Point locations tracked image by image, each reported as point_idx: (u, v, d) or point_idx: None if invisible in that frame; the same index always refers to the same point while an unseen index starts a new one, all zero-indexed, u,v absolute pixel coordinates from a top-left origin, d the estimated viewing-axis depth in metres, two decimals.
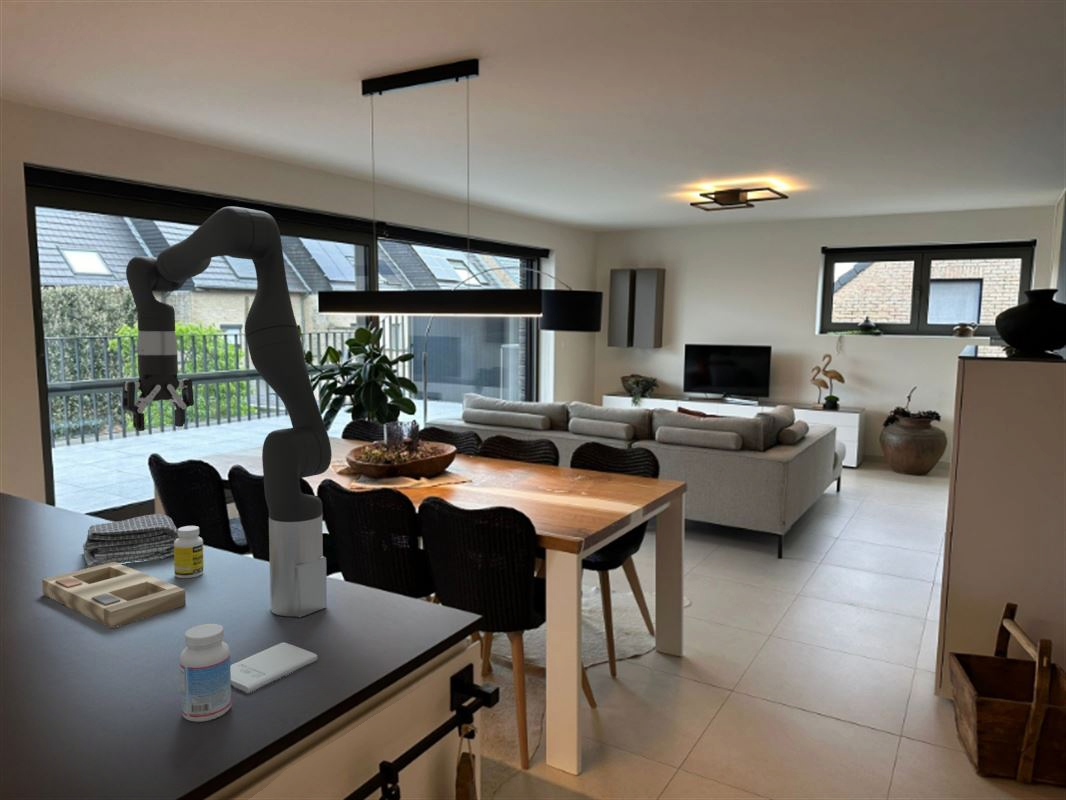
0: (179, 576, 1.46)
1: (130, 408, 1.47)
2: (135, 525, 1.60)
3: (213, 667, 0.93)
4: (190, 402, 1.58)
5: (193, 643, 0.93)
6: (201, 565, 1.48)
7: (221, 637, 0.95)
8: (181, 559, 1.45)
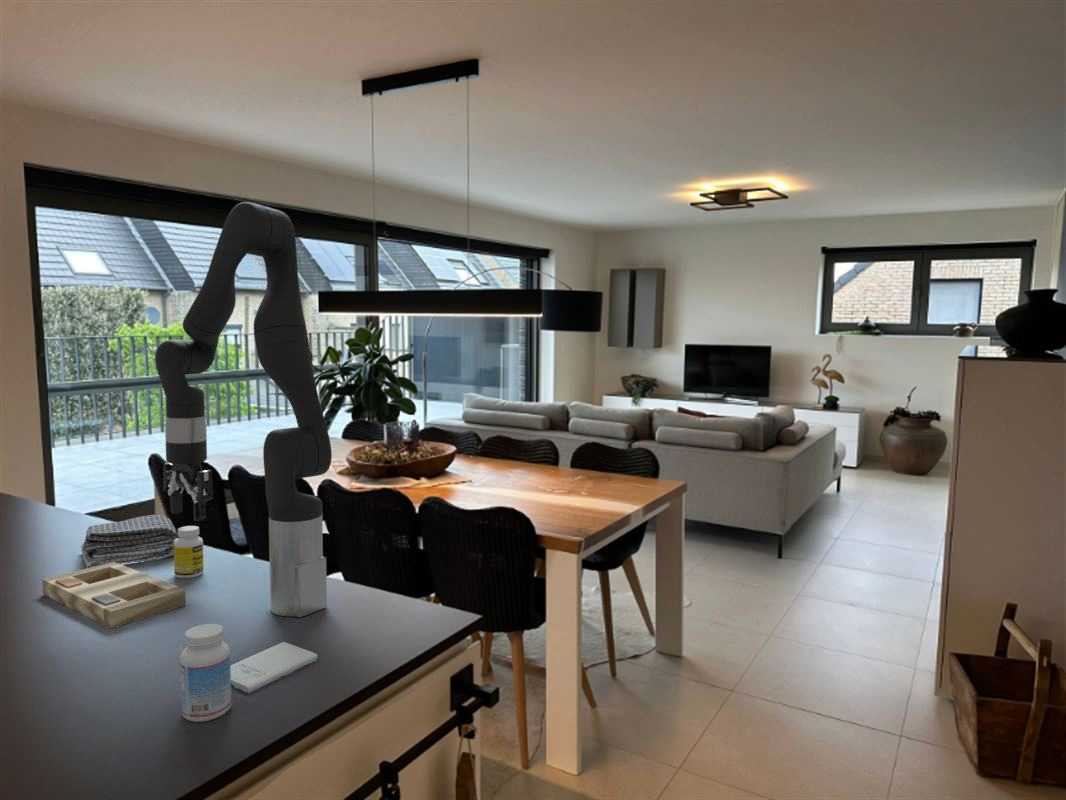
0: (179, 576, 1.46)
1: None
2: (134, 526, 1.60)
3: (213, 667, 0.93)
4: None
5: (193, 643, 0.93)
6: (201, 565, 1.48)
7: (221, 637, 0.95)
8: (181, 559, 1.45)
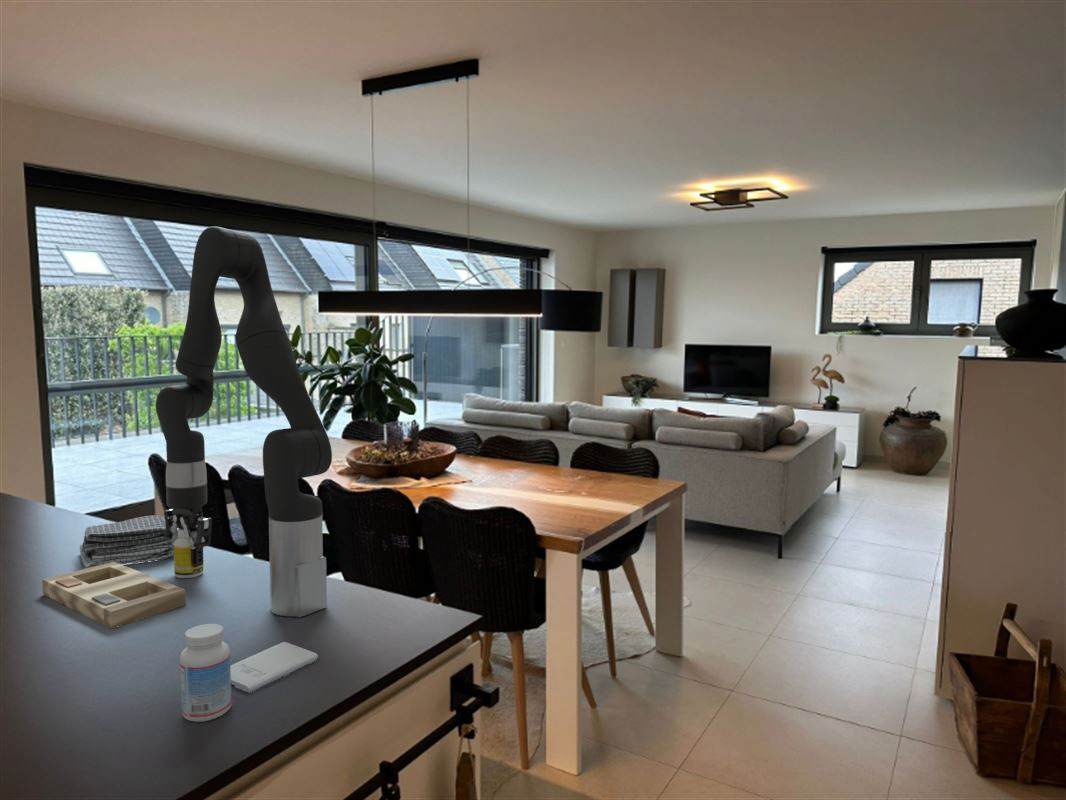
0: (179, 576, 1.46)
1: None
2: (132, 526, 1.59)
3: (213, 667, 0.93)
4: None
5: (193, 643, 0.93)
6: (201, 565, 1.48)
7: (221, 637, 0.95)
8: (181, 558, 1.45)
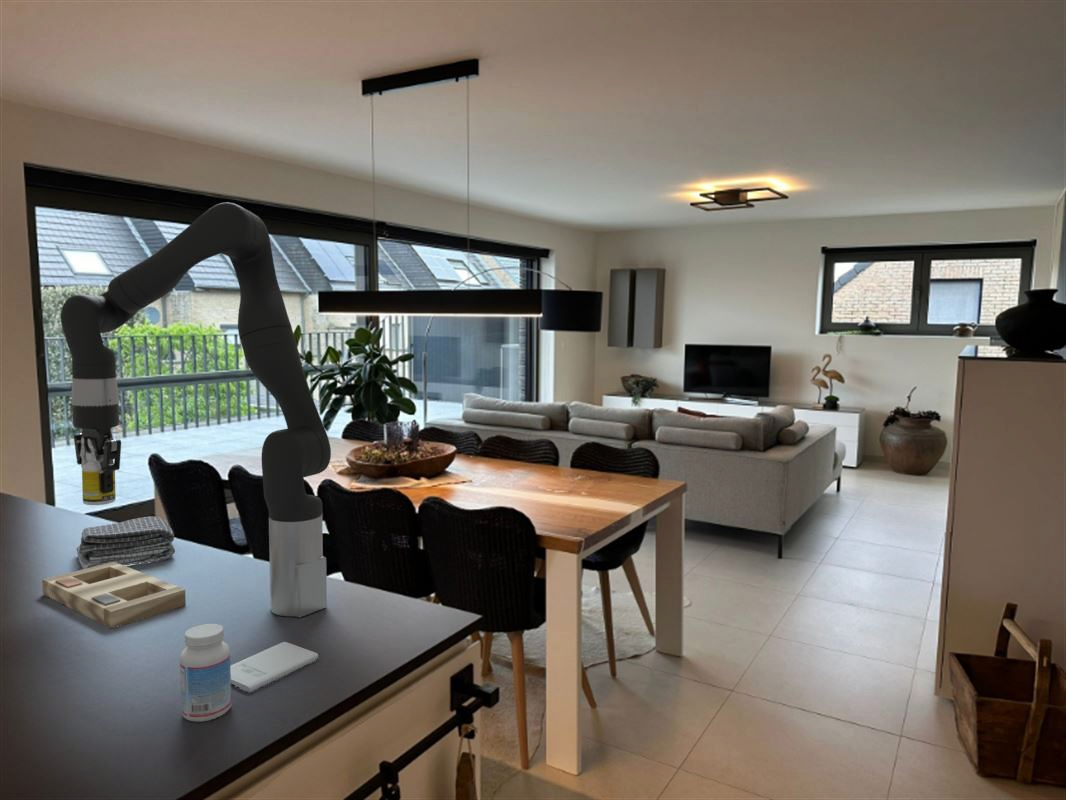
0: (87, 503, 1.35)
1: None
2: (130, 527, 1.58)
3: (213, 667, 0.93)
4: None
5: (193, 643, 0.93)
6: (112, 492, 1.37)
7: (221, 637, 0.95)
8: (89, 483, 1.34)
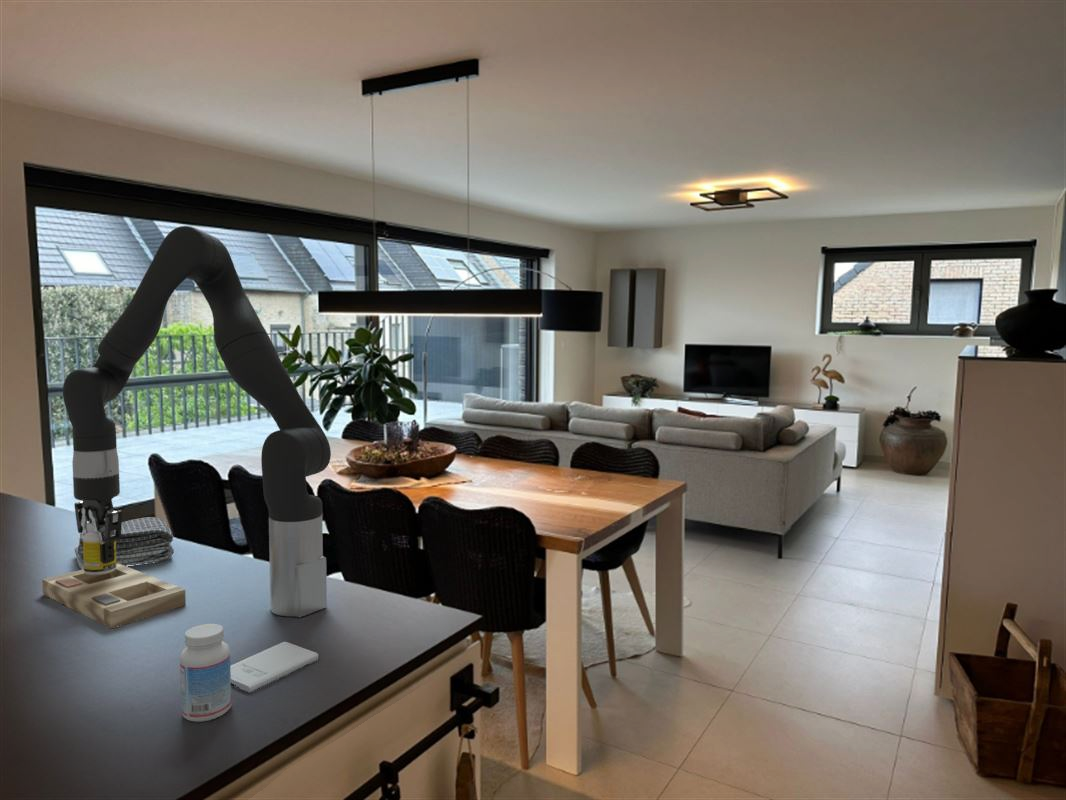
0: (88, 573, 1.36)
1: None
2: (129, 528, 1.58)
3: (213, 667, 0.93)
4: None
5: (193, 643, 0.93)
6: (113, 561, 1.38)
7: (221, 637, 0.95)
8: (90, 554, 1.35)
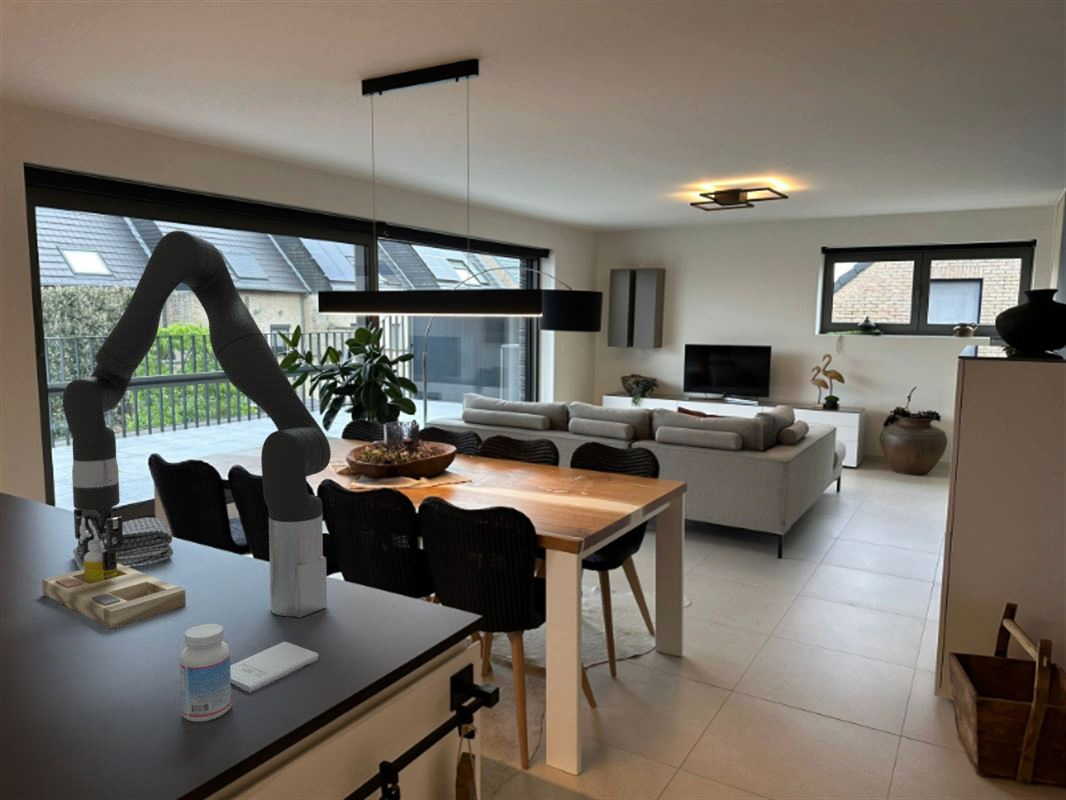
0: None
1: None
2: (128, 529, 1.57)
3: (213, 667, 0.93)
4: None
5: (193, 643, 0.93)
6: None
7: (221, 637, 0.95)
8: (91, 574, 1.36)
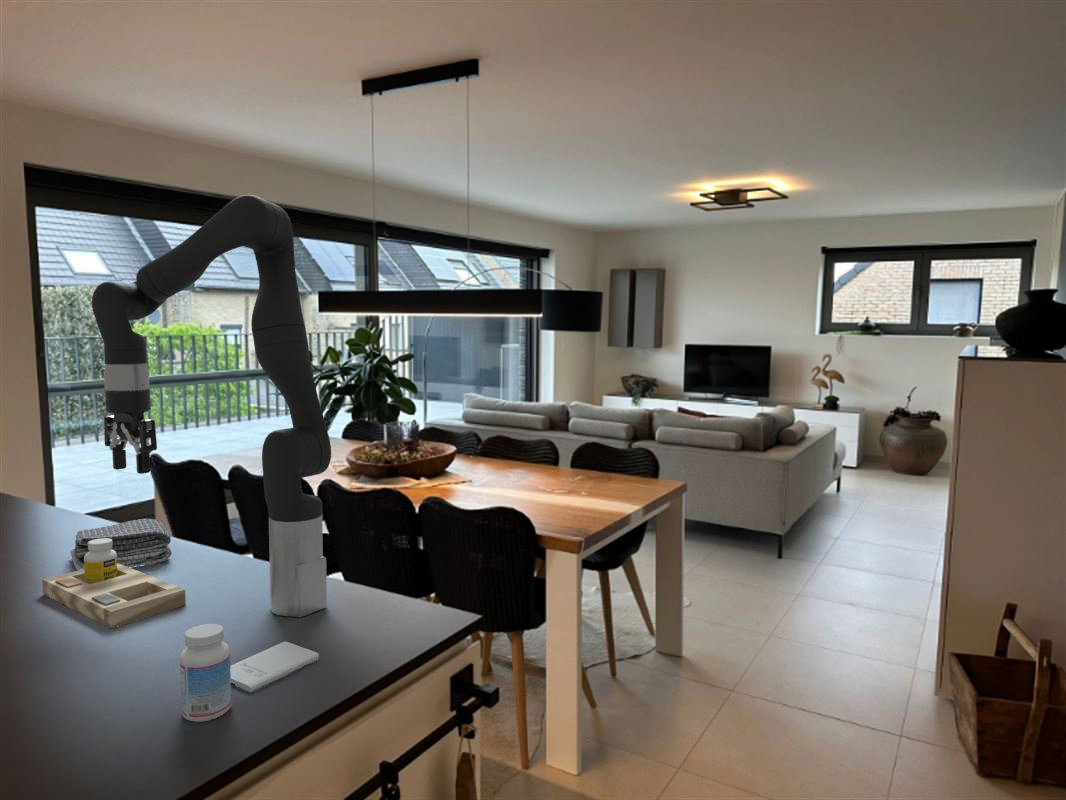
0: None
1: None
2: (125, 530, 1.56)
3: (213, 667, 0.93)
4: None
5: (193, 643, 0.93)
6: None
7: (221, 637, 0.95)
8: (91, 574, 1.36)
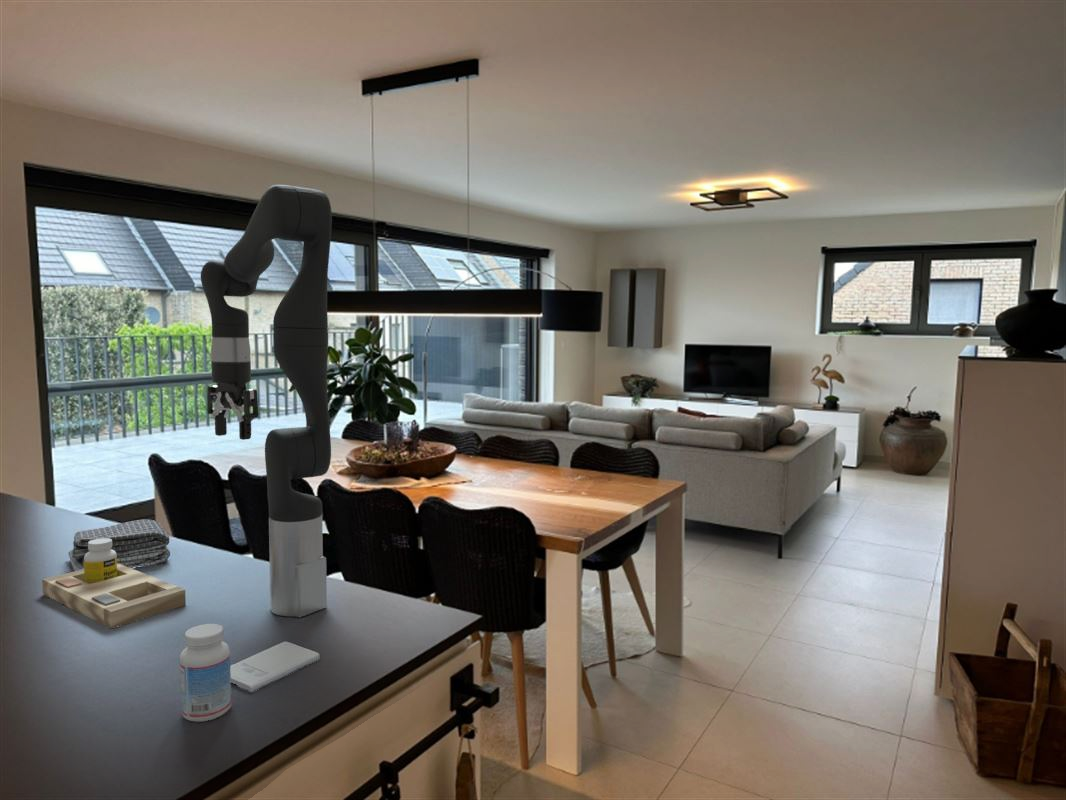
0: None
1: None
2: (124, 531, 1.56)
3: (212, 667, 0.93)
4: None
5: (193, 643, 0.93)
6: None
7: (221, 637, 0.95)
8: (91, 574, 1.36)
